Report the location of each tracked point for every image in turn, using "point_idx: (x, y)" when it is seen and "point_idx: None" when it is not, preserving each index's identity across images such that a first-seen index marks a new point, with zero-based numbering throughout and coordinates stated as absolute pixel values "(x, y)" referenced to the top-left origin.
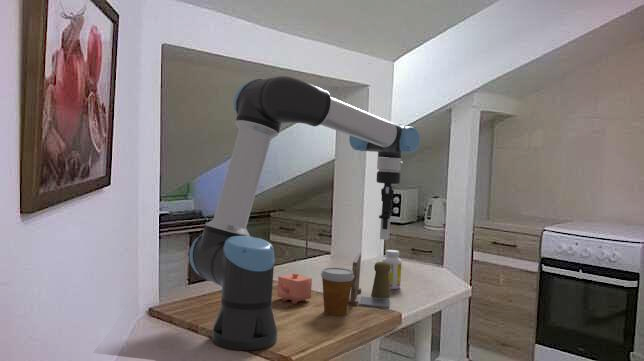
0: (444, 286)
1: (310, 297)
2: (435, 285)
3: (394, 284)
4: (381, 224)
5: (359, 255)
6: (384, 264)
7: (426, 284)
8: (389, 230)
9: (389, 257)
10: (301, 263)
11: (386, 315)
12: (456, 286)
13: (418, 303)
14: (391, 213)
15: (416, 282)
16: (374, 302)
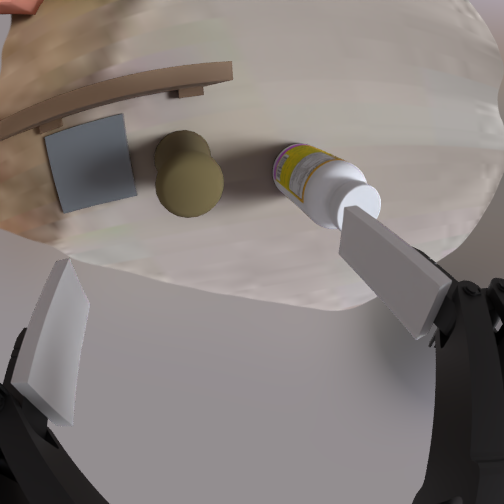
0: (343, 279)
1: (33, 14)
2: None
3: (279, 187)
4: (27, 342)
5: (136, 91)
6: (167, 202)
7: None
8: (350, 265)
9: (329, 194)
10: None
11: (17, 221)
12: (348, 297)
13: (157, 261)
14: (433, 341)
15: None
16: (77, 168)
